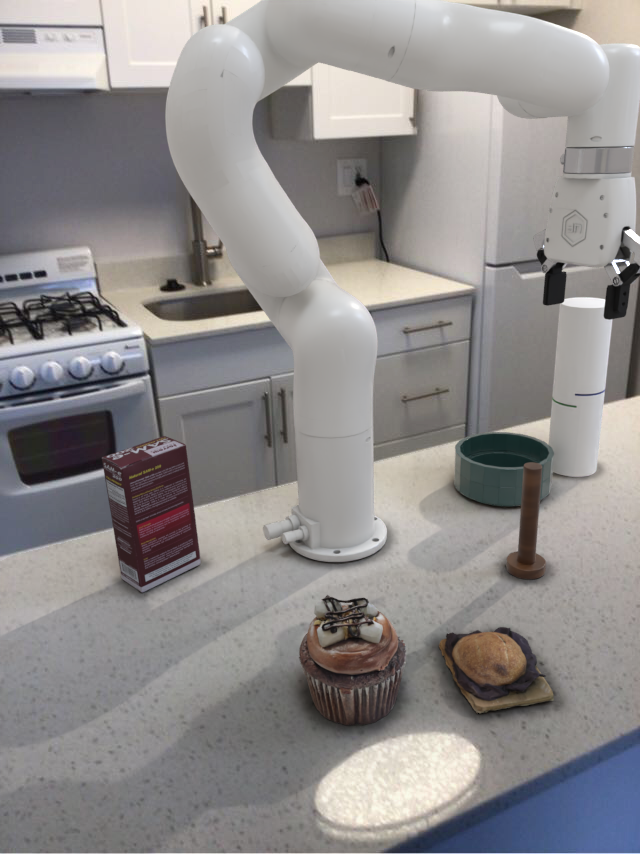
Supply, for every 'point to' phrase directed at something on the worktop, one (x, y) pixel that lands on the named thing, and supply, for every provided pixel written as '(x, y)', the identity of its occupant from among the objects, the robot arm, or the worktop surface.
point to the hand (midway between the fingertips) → (582, 310)
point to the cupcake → (352, 661)
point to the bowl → (499, 466)
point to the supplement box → (152, 511)
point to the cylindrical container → (579, 385)
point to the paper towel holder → (528, 528)
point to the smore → (495, 669)
